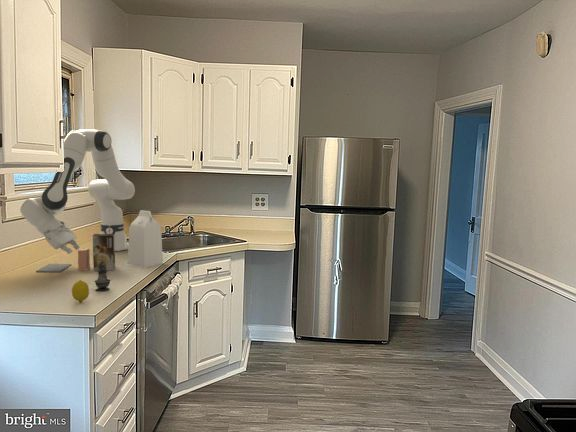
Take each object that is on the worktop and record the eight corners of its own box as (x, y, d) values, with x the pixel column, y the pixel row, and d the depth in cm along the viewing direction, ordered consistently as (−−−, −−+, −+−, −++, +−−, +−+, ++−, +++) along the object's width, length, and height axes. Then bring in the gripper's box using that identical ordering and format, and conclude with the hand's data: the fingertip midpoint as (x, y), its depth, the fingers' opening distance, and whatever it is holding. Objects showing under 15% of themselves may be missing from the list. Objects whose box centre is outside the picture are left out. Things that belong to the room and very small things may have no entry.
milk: (163, 263, 227) (163, 211, 224) (144, 267, 217) (144, 212, 214) (146, 260, 233) (146, 209, 230) (127, 263, 224) (127, 210, 221)
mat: (49, 265, 216) (49, 263, 216) (71, 265, 217) (71, 264, 217) (36, 272, 202) (36, 270, 202) (60, 272, 203) (60, 270, 203)
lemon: (89, 299, 166) (88, 277, 165) (89, 303, 161) (88, 281, 160) (72, 300, 163) (71, 278, 163) (71, 305, 158) (71, 282, 158)
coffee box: (115, 267, 216) (115, 233, 214) (114, 270, 210) (114, 235, 208) (94, 267, 214) (94, 233, 212) (92, 270, 207) (92, 235, 206)
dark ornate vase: (91, 291, 176) (90, 260, 174) (100, 287, 182) (99, 257, 180) (105, 292, 175) (104, 261, 173) (113, 288, 181) (113, 258, 179)
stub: (81, 267, 213) (81, 248, 212) (89, 267, 213) (89, 248, 212) (78, 269, 208) (78, 249, 207) (86, 270, 209) (86, 250, 208)
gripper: (47, 227, 197) (71, 250, 199) (65, 221, 217) (87, 242, 219) (36, 237, 197) (61, 260, 199) (55, 230, 217) (77, 251, 219)
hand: (74, 250), depth 209 cm, fingers open, 8 cm apart
